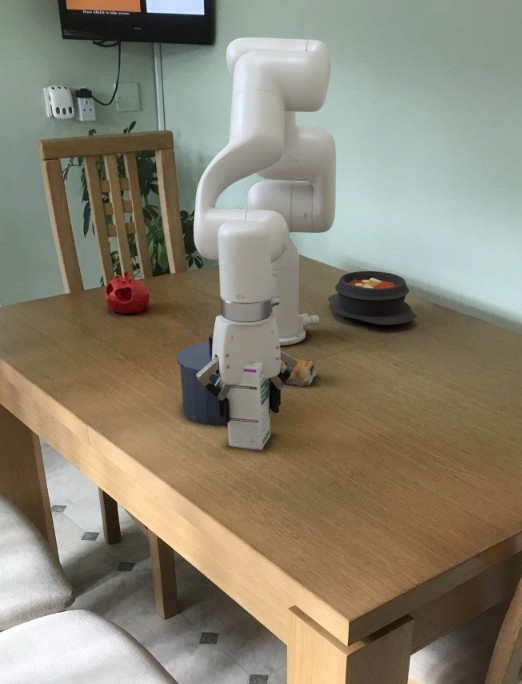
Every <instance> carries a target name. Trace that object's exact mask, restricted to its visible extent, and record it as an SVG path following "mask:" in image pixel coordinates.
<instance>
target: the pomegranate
mask: <svg viewBox="0 0 522 684" xmlns="http://www.w3.org/2000/svg"><path fill="white" fill-rule="evenodd" d="M128 275H129V270H128V269H124V270H123V276H121V275H119V274H116V275H115V277H112V278H108V279H107V280H108V283H107V284H106V286H105V289H104V293H105V297H106V305H107V307H108V309H110V310H111V311H112V312H115V313H119V314H123V315H131V314H138V313H140V312H141V311H144V310H145V309H147V307H148V306H149V304H150V293H149V291H148V289H147V287H146V285H144V283H143V282H142V281H140V280H138V279H136V278H142V275H135V276H132V277H129V276H128ZM117 277H118V278H117Z"/></svg>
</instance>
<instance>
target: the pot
mask: <svg viewBox="0 0 522 684" xmlns="http://www.w3.org/2000/svg"><path fill="white" fill-rule="evenodd" d="M179 366H180V365H179ZM179 368H180V379H181V391H182V392H181V393H182V395H181V396H182V407H183V413H184V415H185V416H186V417H187V419H189V420H190V421H193V422H195V423H198V424H203V425H211V426H222V425H223V426H224V425H228V423H225V422H224V421H223V420H222V419H221V418H220V417H218V416H217V414H216V401H215V396H214V395H213V394H212V393H210V392H209V391H208V390H207V389H206V388H205V387H204V386H203V385H202V383H201V382H200V381H199V380H198V379H197V378H196V374H197V373H198V372H194V371H191V370H188V369H185V368H183V367H182V366H180V367H179ZM218 378H219V376H216V375H214V374H212V375H211V376H210V377H209V380H210V382H211V383H213V384H214V385H215V383H216V382H217V380H218Z"/></svg>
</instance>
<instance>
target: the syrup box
mask: <svg viewBox="0 0 522 684" xmlns="http://www.w3.org/2000/svg"><path fill="white" fill-rule="evenodd" d="M226 398H227V399H228V400H229V411H230V421H229V423H228V424H227V436H228V445H229V446H230V447H233V448H234V447H235V448H241V449H249V450H259V451H262V450H263V449H264V446H265V445H266V444H267V442H268V440H269V439H270V437H271V435H272V423H271V421H272V420H271V419H272V418H271V409H270V381H269V379H264V372H263V365H262V362H258V363H248V364H246V366H244V372H243V377H242V381H241V383H239V384H235V385H232V386H231V388H230V390H229V392H228V394H227V396H226Z"/></svg>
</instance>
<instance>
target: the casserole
mask: <svg viewBox="0 0 522 684" xmlns="http://www.w3.org/2000/svg"><path fill="white" fill-rule="evenodd" d="M334 289H335V291H336V292H337V293H334V294H331V295H329V296H328V297H327V301H328V302H329V303H330V307H331V308H330V309H331V310H332V311H333V312H334V313H336V314H338V315H340V316H342V317H345V318H347V319H351V320H354V321H357V322H362V323H368V324H372V325H375V326H376V325H377V326H396V325H402V324H406V323H410V322H412V321H414V320H416V319H417V314H416V313H414V312H413V309H412V308H411V305H410V304H408V303H407V301H405V300H406V296H407V295H408V294H409V293H410V289H409V287H408V286H407V282H406V280H405V278H404V277H402V276H401V275H397V274H395V273H390V272H385V271H379V270H377V271H376V270H362V271H359V270H358V271H352V272H348V273H345V274H343V275H342V276H341V277H340V278H339V281H338V283H337V284H336V285H335V287H334Z"/></svg>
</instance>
